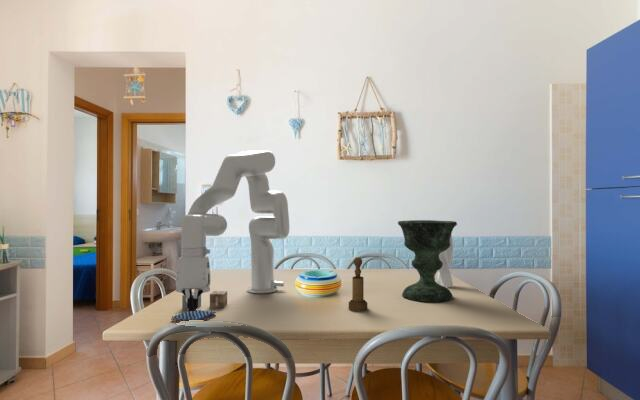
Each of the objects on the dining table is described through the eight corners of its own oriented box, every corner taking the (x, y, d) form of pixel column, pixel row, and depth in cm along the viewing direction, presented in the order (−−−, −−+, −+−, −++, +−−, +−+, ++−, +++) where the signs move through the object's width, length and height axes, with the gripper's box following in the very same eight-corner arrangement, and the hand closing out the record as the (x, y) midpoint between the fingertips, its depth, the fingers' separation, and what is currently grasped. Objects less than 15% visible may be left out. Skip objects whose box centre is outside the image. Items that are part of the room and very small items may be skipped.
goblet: (402, 289, 164) (401, 219, 164) (457, 293, 156) (457, 220, 157) (393, 301, 143) (393, 222, 144) (457, 306, 136) (456, 222, 136)
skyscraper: (443, 284, 175) (442, 223, 176) (457, 287, 168) (457, 224, 169) (430, 286, 171) (429, 224, 171) (444, 289, 164) (443, 225, 164)
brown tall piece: (355, 312, 128) (354, 259, 129) (345, 308, 134) (344, 257, 134) (371, 310, 131) (370, 258, 132) (360, 305, 137) (360, 255, 137)
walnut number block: (227, 304, 139) (227, 290, 140) (223, 308, 134) (223, 293, 134) (213, 304, 139) (213, 290, 140) (209, 308, 134) (209, 293, 134)
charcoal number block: (201, 306, 137) (201, 291, 138) (196, 310, 132) (196, 295, 132) (187, 306, 138) (187, 291, 138) (182, 310, 132) (182, 295, 132)
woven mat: (190, 314, 129) (190, 308, 129) (217, 317, 125) (217, 311, 125) (168, 323, 119) (168, 316, 119) (196, 326, 115) (196, 320, 115)
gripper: (219, 251, 126) (219, 307, 125) (174, 251, 126) (173, 307, 125) (213, 254, 118) (212, 313, 118) (165, 254, 118) (164, 313, 118)
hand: (192, 310), depth 122 cm, fingers closed
